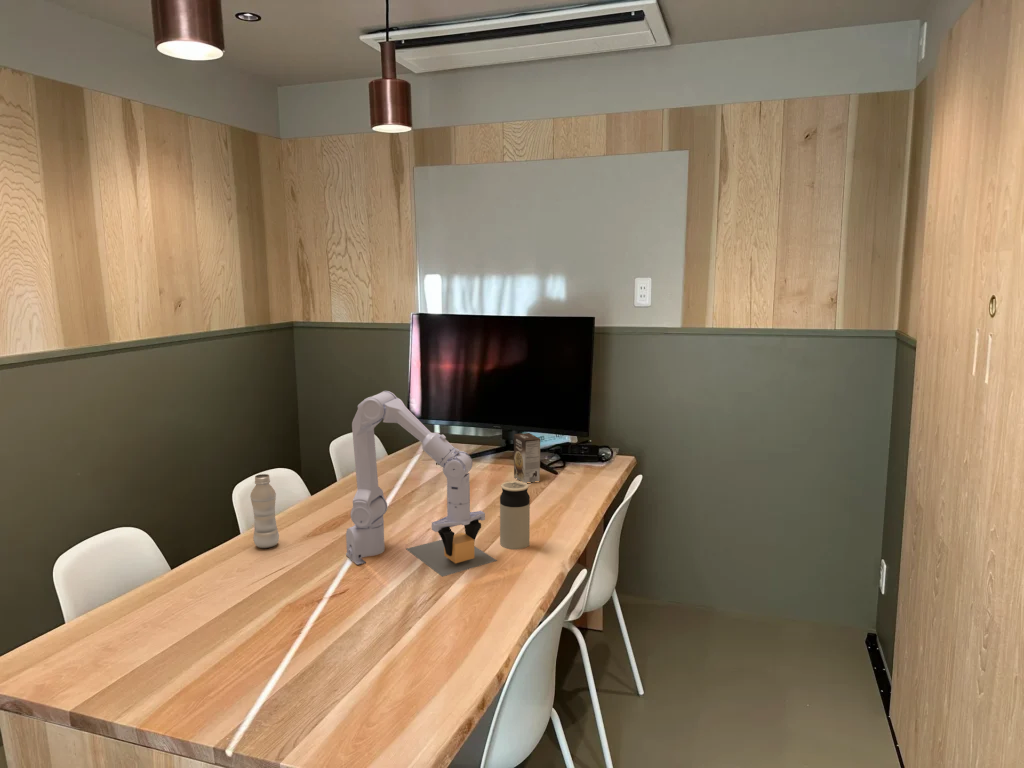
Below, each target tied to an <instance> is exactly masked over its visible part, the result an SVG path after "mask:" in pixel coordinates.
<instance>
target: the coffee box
mask: <svg viewBox="0 0 1024 768" xmlns="http://www.w3.org/2000/svg"><path fill="white" fill-rule="evenodd" d="M540 468H541V437H537V436H536V435H534V434H532V433H531V432H525V433H524V432H522V433H514V434H513V478H514V479H516V478H517V479H516V480H517V481H519V480H520V481H522V482H525V483H527V482H535V481H540V479H541V478H540V476H541V474H540V473H541V472H540V471H541V469H540ZM540 482H541V481H540Z"/></svg>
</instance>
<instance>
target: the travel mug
mask: <svg viewBox="0 0 1024 768" xmlns="http://www.w3.org/2000/svg"><path fill="white" fill-rule="evenodd" d="M500 487H501V490H502V492H501V494H500V496H499V524H500V525H499V544H500V546H501V548H504V549H508V550H522V549H526V548H527V547H530V529H531V527H530V525H531V524H530V523H531V521H530V518H531V517H530V513H531V512H530V509H531V507H530V506H531V504H530V502H531V501H530V500H531V499H530V498H531V496H530V494H529V493H528V489H529V487H530V485H529V484H527V483H525V482H521V481H519V480H510V481H508V480H507V481H505V482H503V483H501V485H500Z"/></svg>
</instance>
